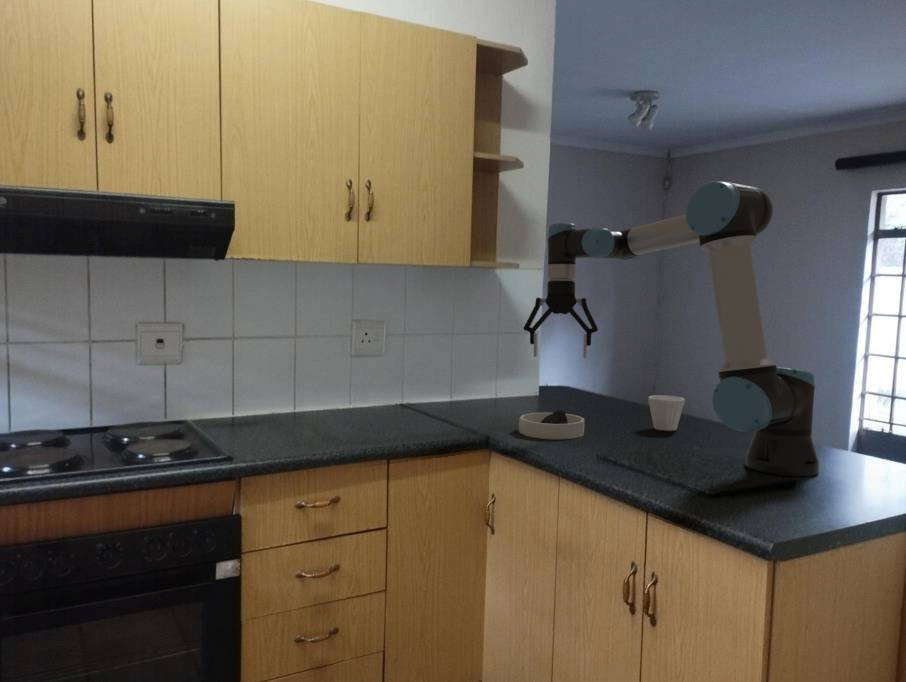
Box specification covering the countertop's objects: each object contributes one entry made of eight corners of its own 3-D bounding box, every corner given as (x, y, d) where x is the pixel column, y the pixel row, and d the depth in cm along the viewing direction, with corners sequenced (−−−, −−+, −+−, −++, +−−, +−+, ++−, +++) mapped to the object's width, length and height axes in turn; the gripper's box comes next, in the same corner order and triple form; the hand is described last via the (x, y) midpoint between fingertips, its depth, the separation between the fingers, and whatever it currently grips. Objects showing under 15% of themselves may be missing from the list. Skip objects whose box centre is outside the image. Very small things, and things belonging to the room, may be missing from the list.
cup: (682, 427, 208) (683, 396, 208) (684, 434, 199) (685, 401, 198) (647, 425, 211) (648, 394, 210) (647, 431, 201) (648, 399, 201)
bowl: (581, 441, 188) (581, 426, 188) (515, 436, 193) (515, 422, 192) (585, 428, 205) (586, 414, 205) (525, 424, 210) (525, 411, 209)
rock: (533, 433, 194) (534, 412, 193) (543, 427, 203) (543, 406, 203) (559, 436, 191) (559, 414, 191) (567, 429, 201) (568, 408, 200)
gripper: (607, 280, 197) (606, 356, 198) (518, 280, 203) (517, 354, 204) (607, 280, 190) (605, 359, 191) (514, 279, 195) (513, 356, 197)
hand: (560, 357), depth 198 cm, fingers open, 13 cm apart
